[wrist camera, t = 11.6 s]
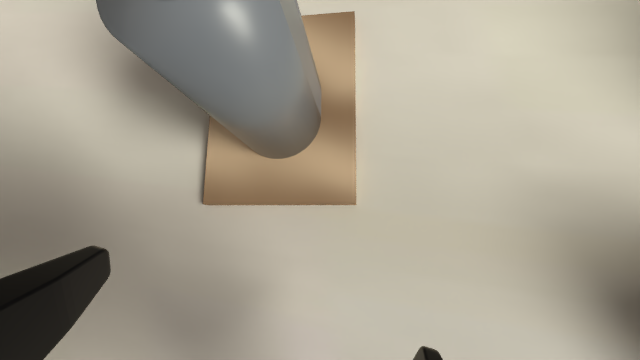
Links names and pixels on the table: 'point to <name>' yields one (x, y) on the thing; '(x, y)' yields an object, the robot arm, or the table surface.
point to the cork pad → (313, 162)
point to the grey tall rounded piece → (230, 63)
